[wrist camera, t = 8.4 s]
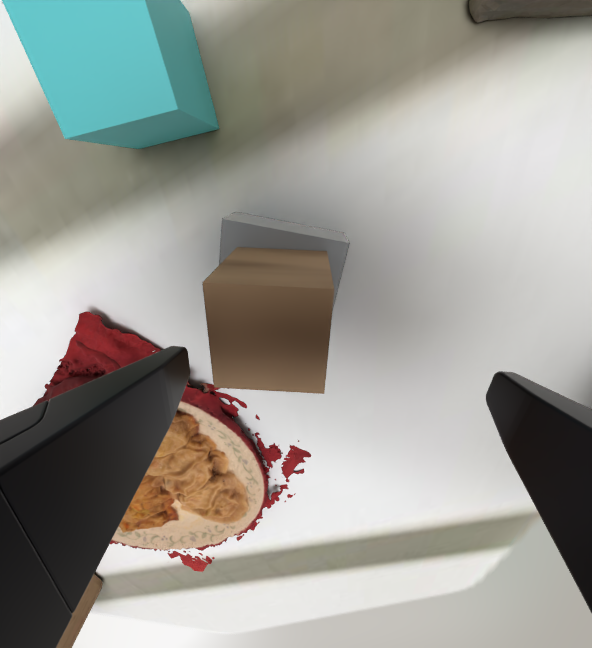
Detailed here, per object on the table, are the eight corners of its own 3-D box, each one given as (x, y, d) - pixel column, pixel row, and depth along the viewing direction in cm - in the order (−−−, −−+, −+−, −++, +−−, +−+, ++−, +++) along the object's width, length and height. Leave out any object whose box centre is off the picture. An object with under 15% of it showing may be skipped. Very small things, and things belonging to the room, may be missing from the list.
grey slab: (320, 326, 23) (322, 350, 20) (228, 309, 23) (215, 331, 19) (343, 231, 20) (349, 243, 17) (236, 211, 19) (222, 218, 16)
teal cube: (219, 129, 17) (177, 108, 12) (139, 149, 18) (65, 138, 12) (189, 12, 15) (122, -77, 10) (99, 40, 16) (-11, -29, 10)
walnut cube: (320, 330, 19) (323, 393, 14) (241, 326, 19) (213, 387, 14) (326, 251, 17) (334, 288, 11) (237, 247, 17) (202, 282, 12)
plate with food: (9, 475, 33) (-23, 508, 30) (94, 302, 23) (59, 325, 20) (204, 557, 39) (195, 591, 36) (341, 451, 29) (345, 487, 26)
